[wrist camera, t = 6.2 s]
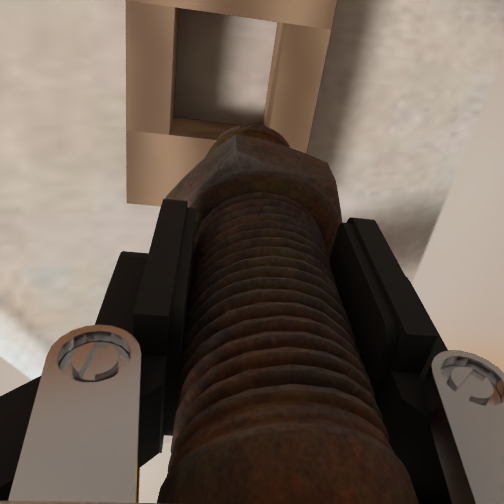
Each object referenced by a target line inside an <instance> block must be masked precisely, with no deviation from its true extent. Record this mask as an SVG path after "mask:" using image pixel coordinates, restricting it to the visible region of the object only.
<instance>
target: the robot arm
mask: <svg viewBox="0 0 504 504" xmlns="http://www.w3.org/2000/svg"><path fill="white" fill-rule="evenodd" d="M196 209H197V208H190V207H188V201H183V200H173V199H163V201H162V205H161V209H160V213H159V217H158V220H157V224H156V228H155V232H154V236H153V239H152V243H151V247H150V251H149V254H148V253H137V252H125V251H122V252H121V254H120V256H119V258H118V261H117V264H116V267H115V270H114V272H113V275H112V278H111V281H110V284H109V286H108V289H107V292H106V295H105V298H104V300H103V303H102V306H101V309H100V312H99V314H98V317H97V320H96V323H95V325H92V326H85V327H82V328H78V329H75V330H72V331H70V332H69V333H67V334H65V335H63V336H62V337H60V338H59V339H58V340H57V341H56V342H55V343H54V344H53V345H52V346H51V348H50V350H49V352H48V354H47V357H46V360H45V364H44V368H43V372H42V375H41V376H40V377H38V378H36V379H34V380H32V381H30V382H28V383H26V384H24V385H22V386H20V387H18V388H16V389H14V390H12V391H10V392H9V393H6V394H4V395H3V396H0V504H155V503H139V477H140V467H141V466H142V465H144V464H145V463H146V462H148V461H149V460H150V459H152V458H153V457H154V456H156V455H157V454H158V453H161V452H162V445H163V438H164V435H170V436H173V429H174V422H175V409H176V402H177V388H178V384H179V372H180V366H181V353H182V347H183V335H184V329H185V321H186V310H187V301H188V293H189V290H190V282H191V271H192V259H193V247H194V235H195V222H196ZM329 261H330V264H331V269H332V273H333V275H334V278H335V282H336V286H337V289H338V292H339V295H340V297H341V300H342V304H343V306H344V308H345V310H346V312H347V316H348V318H349V321H350V323H351V327H352V333H353V334H354V336H355V338H356V347H357V348H358V350H359V351H360V358H361V360H362V362H363V364H364V366H365V371H366V372H367V375H368V377H369V379H370V384H371V387H372V388H373V391H374V396H375V401H376V404H377V406H378V408H379V410H380V412H381V414H382V422H383V424H384V425H385V427H386V430H387V432H388V438H389V444H390V446H391V448H392V449H393V451H394V453H395V455H396V456H397V457H398V458H399V459H400V460H401V461H402V463H403V464H404V466H405V468H406V470H407V472H408V474H409V476H410V479H411V482H412V485H413V488H414V490H415V493H416V496H417V499H418V502H419V504H504V373H503V372H502V371H501V370H500V369H499V368H498V367H497V366H495V365H494V364H492V363H491V362H489V361H488V360H486V359H484V358H481V357H479V356H477V355H475V354H472V353H468V352H464V351H458V350H457V351H456V350H447V348H446V346H445V344H444V342H443V341H442V339H441V337H440V335H439V333H438V331H437V330H436V328H435V326H434V324H433V322H432V321H431V319H430V317H429V315H428V313H427V312H426V310H425V308H424V306H423V304H422V302H421V300H420V299H419V297H418V295H417V293H416V292H415V290H414V288H413V286H412V284H411V282H410V281H409V280H408V278H407V277H406V276H405V275H404V273H403V271H402V269H401V267H400V265H399V264H398V262H397V260H396V258H395V256H394V254H393V253H392V251H391V249H390V247H389V245H388V243H387V241H386V240H385V238H384V236H383V234H382V232H381V230H380V229H379V227H378V225H377V223H376V221H375V220H370V219H360V218H349V219H348V221H347V223H340V225H339V227H338V230H337V233H336V237H335V241H334V245H333V248H332V252H331V256H330V260H329Z"/></svg>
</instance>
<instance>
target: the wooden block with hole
mask: <svg viewBox="0 0 504 504" xmlns="http://www.w3.org/2000/svg"><path fill="white" fill-rule="evenodd" d="M336 4H337V0H126V157H127V203H130V204H141V205H152V206H161V205H162V201H163V199H166V196H167V195H168V194H169V193H170V192H171V190H172V189H173V188H174V187H175V186H176V185H177V184H178V183H179V182H180V181H181V180H182V179H183V177H185V176H186V175H187V174H188V173H189V172H190V171H191V170H192V169H193V168H194V167H195V166H196V165H197V164H198V163H199V162H200V161H201V160H203V159H204V158H205V157H206V155H207V153H208V152H209V150H210V148H211V147H212V146H213V145H214V143H215V142H216V141H217V140H218V138H219V136H220V135H221V134H222V133H223V132H225V131H227V130H229V129H231V128H233V127H237V126H240V125H234V124H226V123H217V122H208V121H199V120H191V119H182V118H174V107H175V86H176V65H177V44H178V23H179V8H184V9H191V10H198V11H205V12H212V13H219V14H225V15H232V16H239V17H246V18H253V19H260V20H267V21H274V22H278V23H277V30H276V37H275V44H274V50H273V57H272V64H271V71H270V78H269V84H268V91H267V98H266V105H265V112H264V119H263V125H262V126H266V127H268V128H271V129H273V130H275V131H276V132H278V133H279V134H281V135H282V136H283V138H284V139H285V140H286V141H287V142H288V144H289V146H290V148H292V149H295V150H298V151H301V152H303V153H306V152H307V147H308V142H309V137H310V132H311V127H312V122H313V117H314V113H315V108H316V103H317V98H318V93H319V88H320V83H321V78H322V73H323V68H324V63H325V58H326V53H327V48H328V43H329V38H330V33H331V28H332V23H333V19H334V14H335V9H336ZM248 127H249V126H243V125H241V129H240V133H241V131H242V129H243V128H248Z"/></svg>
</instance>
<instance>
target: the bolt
mask: <svg viewBox="0 0 504 504" xmlns="http://www.w3.org/2000/svg"><path fill="white" fill-rule="evenodd" d="M248 125H249V127H248V128H243V129H242V131H241V133H240V129H241V125H240V126H237V127H233V128H231V129H229V130H227V131H225V132H223V133H222V134H221V135H220V136H219V138H218V140H217V141H216V142H215V143H214V145H213V146H212V147H211V148H210V150H209V152H208V153H207V155H206V157H205V158H204V159H203V160H201V161H200V162H199V163H198V164H197V165H196V166H195V167H194V168H193V169H192V170H191V171H190V172H189V173H188V174H187V175H186V176H185V177H183V179H182V180H181V181H180V182H179V183H178V184H177V185H176V186H175V187H174V188H173V189H172V190H171V192H170V193H169V194H168V195H167V196H166V199H173V200H183V201H188V207H190V208H197V209H196V222H195V235H194V247H193V259H192V271H191V282H190V290H189V293H188V301H187V310H186V321H185V329H184V335H183V347H182V353H181V366H180V372H179V384H178V388H177V402H176V409H175V422H174V429H173V438H172V445H171V457H170V461H169V465H168V474H167V477H166V479H165V481H164V483H163V484H162V486H161V488H160V492H159V496H158V500H157V504H419V502H418V499H417V496H416V493H415V490H414V488H413V485H412V482H411V479H410V476H409V474H408V472H407V470H406V468H405V466H404V464H403V463H402V461H401V460H400V459H399V458H398V457H397V456H396V455H395V453H394V451H393V449H392V448H391V446H390V444H389V438H388V432H387V430H386V427H385V425H384V424H383V422H382V414H381V412H380V410H379V408H378V406H377V404H376V401H375V396H374V391H373V388H372V387H371V384H370V379H369V377H368V375H367V372H366V371H365V366H364V364H363V362H362V360H361V358H360V351H359V350H358V348H357V347H356V338H355V336H354V334H353V333H352V327H351V323H350V321H349V318H348V316H347V312H346V310H345V308H344V306H343V304H342V300H341V297H340V295H339V292H338V289H337V286H336V282H335V278H334V275H333V273H332V269H331V264H330V261H329V260H330V256H331V252H332V248H333V245H334V241H335V237H336V233H337V230H338V227H339V225H340V223H342V217H341V209H340V203H339V197H338V191H337V185H336V180H335V178H334V176H333V174H332V172H331V170H330V168H329V166H328V164H327V163H326V162H324V161H321V160H319V159H317V158H315V157H312V156H310V155H308V154H306V153H303V152H301V151H298V150H295V149H292V148H290V146H289V144H288V142H287V141H286V140H285V139H284V138H283V136H282V135H281V134H279V133H278V132H276V131H275V130H273V129H271V128H268V127H266V126H262V125H257V124H248Z"/></svg>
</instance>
